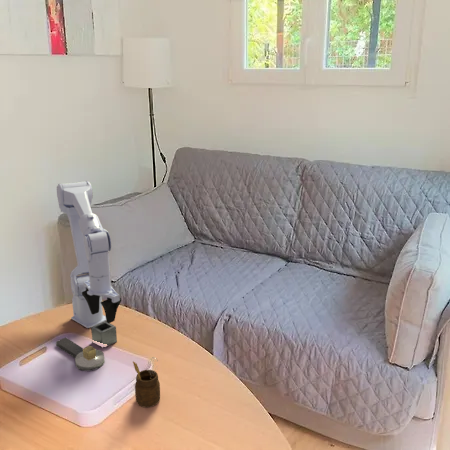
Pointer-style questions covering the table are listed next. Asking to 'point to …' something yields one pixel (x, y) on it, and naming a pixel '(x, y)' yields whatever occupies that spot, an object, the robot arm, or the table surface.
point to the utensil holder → (147, 387)
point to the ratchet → (82, 355)
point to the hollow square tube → (104, 333)
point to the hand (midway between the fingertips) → (102, 317)
